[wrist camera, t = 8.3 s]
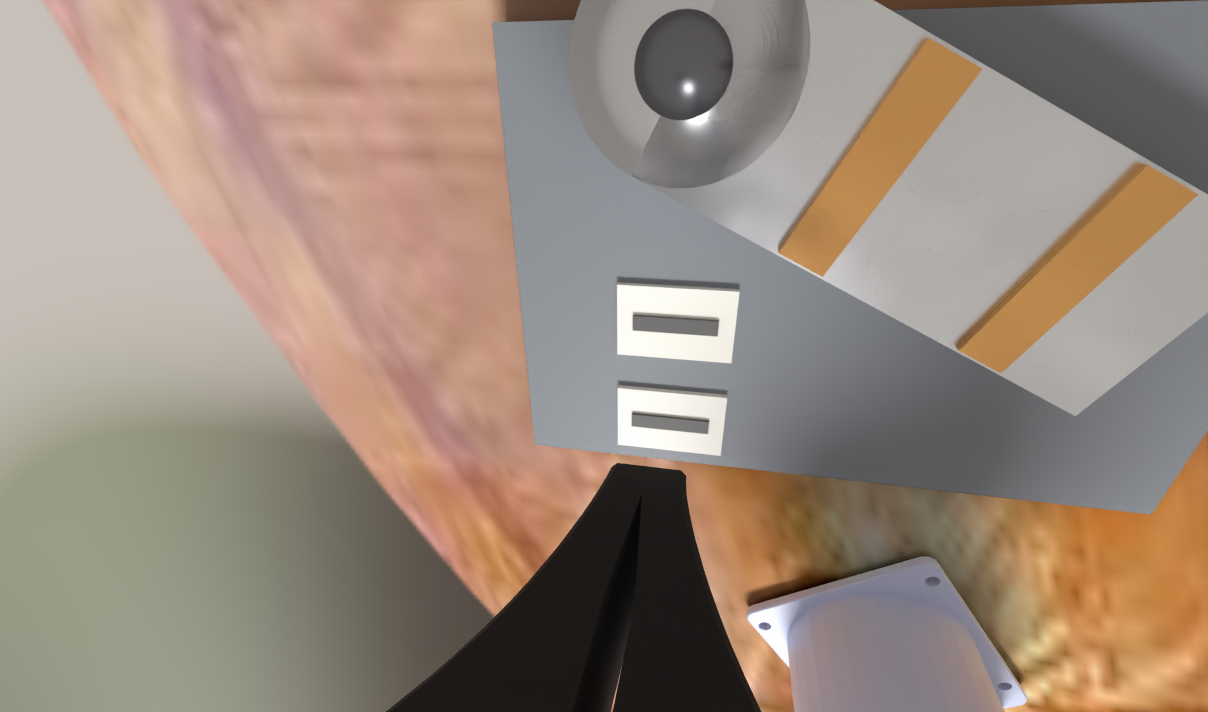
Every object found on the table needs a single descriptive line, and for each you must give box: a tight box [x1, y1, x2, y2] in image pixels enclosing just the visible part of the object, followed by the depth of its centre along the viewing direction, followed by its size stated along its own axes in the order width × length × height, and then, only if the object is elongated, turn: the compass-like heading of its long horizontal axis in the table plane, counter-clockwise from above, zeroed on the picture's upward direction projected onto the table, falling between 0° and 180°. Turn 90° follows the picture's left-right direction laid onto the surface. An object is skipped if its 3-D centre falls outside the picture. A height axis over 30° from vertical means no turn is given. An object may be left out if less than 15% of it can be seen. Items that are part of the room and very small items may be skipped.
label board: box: [492, 0, 1208, 514], centre depth 15 cm, size 20×14×1 cm
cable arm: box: [569, 0, 1208, 416], centre depth 12 cm, size 15×5×2 cm, turn 64°
